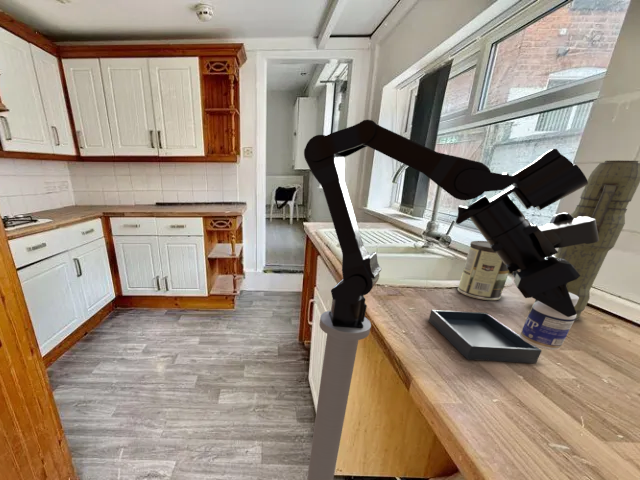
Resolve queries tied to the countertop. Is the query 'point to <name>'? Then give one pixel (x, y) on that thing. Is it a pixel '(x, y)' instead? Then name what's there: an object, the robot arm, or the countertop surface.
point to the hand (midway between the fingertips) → (566, 309)
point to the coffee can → (483, 273)
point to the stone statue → (600, 222)
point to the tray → (483, 337)
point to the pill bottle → (547, 326)
